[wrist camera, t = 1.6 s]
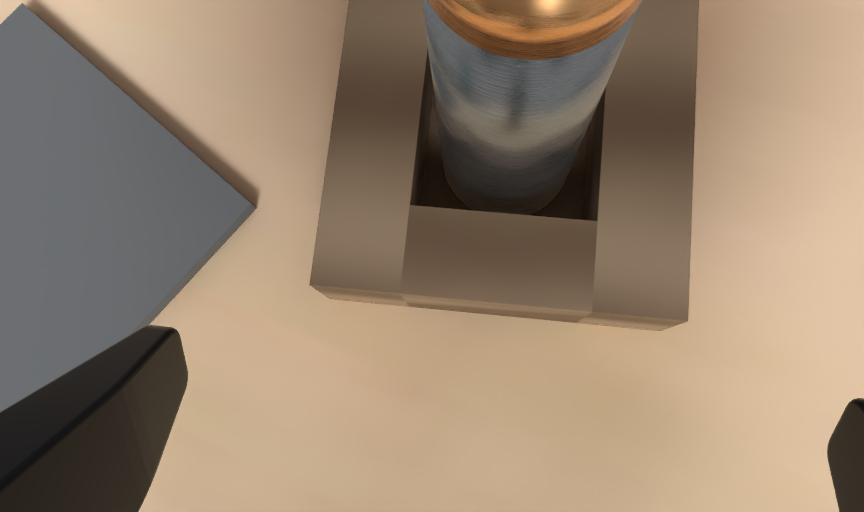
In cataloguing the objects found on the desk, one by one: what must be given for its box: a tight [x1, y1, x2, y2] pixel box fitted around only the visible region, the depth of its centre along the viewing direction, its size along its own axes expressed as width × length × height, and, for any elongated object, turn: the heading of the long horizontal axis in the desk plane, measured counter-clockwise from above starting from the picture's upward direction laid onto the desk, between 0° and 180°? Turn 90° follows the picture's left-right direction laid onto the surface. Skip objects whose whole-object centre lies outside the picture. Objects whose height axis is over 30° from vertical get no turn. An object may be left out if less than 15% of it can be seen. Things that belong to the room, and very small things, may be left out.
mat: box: [0, 3, 256, 412], centre depth 24 cm, size 12×12×1 cm
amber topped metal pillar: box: [422, 0, 642, 215], centre depth 18 cm, size 4×4×13 cm
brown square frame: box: [310, 0, 699, 331], centre depth 23 cm, size 11×11×3 cm
